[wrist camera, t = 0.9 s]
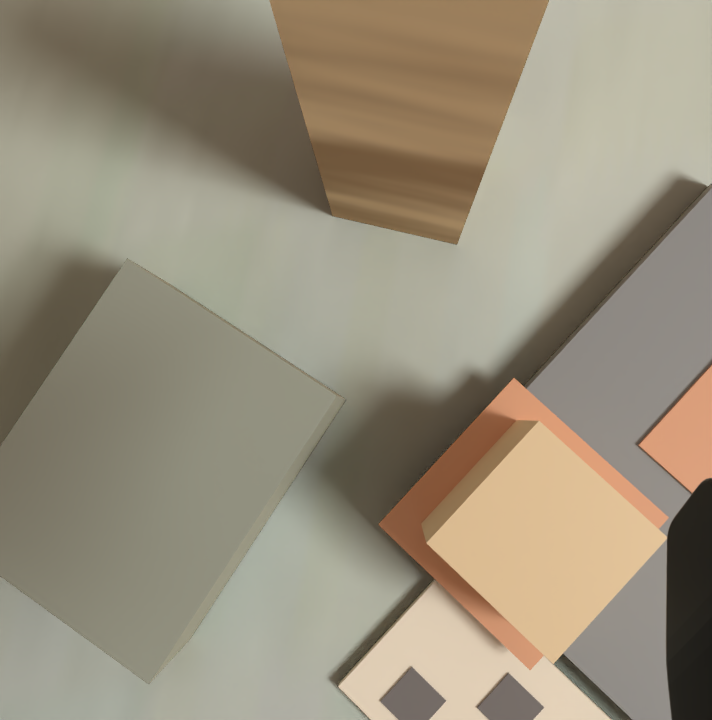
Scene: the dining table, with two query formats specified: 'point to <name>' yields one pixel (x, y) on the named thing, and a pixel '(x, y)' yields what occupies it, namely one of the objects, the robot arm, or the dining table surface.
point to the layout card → (457, 672)
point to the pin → (405, 100)
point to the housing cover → (150, 468)
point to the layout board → (615, 417)
